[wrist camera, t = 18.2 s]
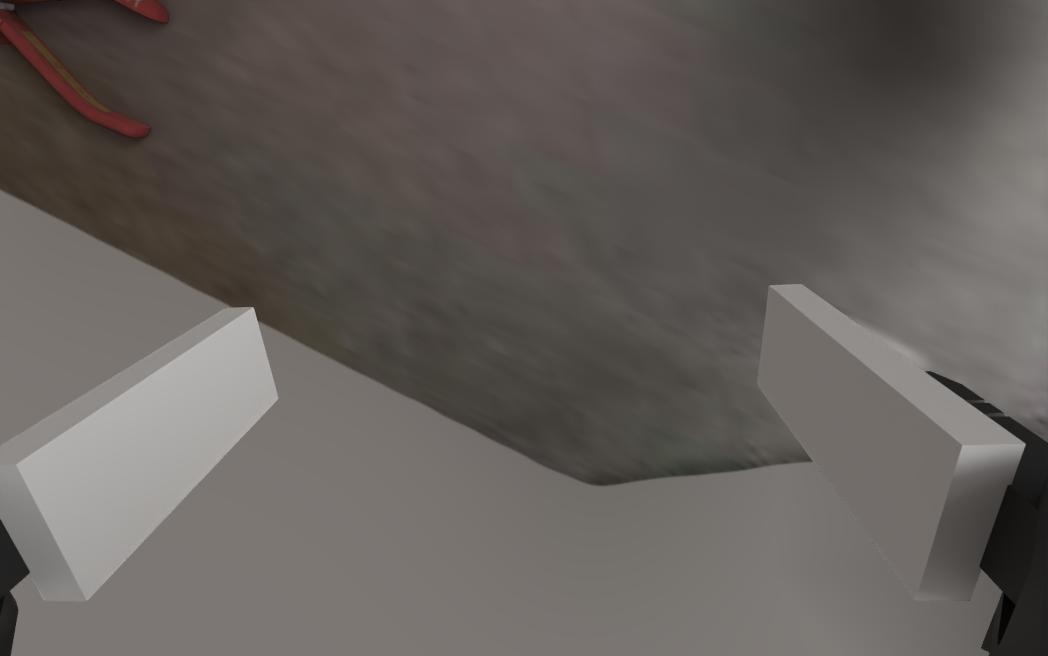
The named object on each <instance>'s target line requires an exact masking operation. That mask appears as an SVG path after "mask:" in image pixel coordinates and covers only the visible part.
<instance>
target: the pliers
mask: <svg viewBox="0 0 1048 656" xmlns="http://www.w3.org/2000/svg"><path fill="white" fill-rule="evenodd" d="M49 1H59V0H0V43H5V44H11V43H12V44H13V45H14V46H15V47H16V48H17V49H18V50H19V51H20V52H21V53H22V54H23V56H24V57H25V58H26V59H27V60H28V61H29V62H30V63H31V64H32V65H33V66H34V67H35V68H36V69H37V70H38V72H39V73H40V74H41V75H42V76H43V77H44V78H45V79H46V80H47V81H48V82H49V83H50V84H51V85H52V87H53V88H54V89H55V90H56V91H57V92H58V93H59V94H60V95H61V96H62V97H63V98H64V99H65V100H66V101H67V102H68V103H69V104H70V105H71V106H72V107H74V108H75V109H76V110H77V111H78V112H80V113H81V114H82V115H83V116H85V117H86V118H88V119H89V120H91V121H93V122H95V123H97V124H100V125H102V126H105V127H107V128H109V129H112V130H114V131H117V132H119V133H122V134H124V135H126V136H129V137H133V138H141V137H144V136H146V135H147V134H149V132H150V128H151V127H149V126H147V125H145V124H142V123H140V122H138V121H136V120H133V119H131V118H129V117H126V116H124V115H122V114H119V113H117V112H115V111H113V110H111V109H109V108H108V107H106V106H105V105H103V104H102V103H100V102H99V101H98V100H97V99H96V98H94V97H93V96H92V95H91V94H90V93H89V92H88V91H87V90H86V89H85V88H84V87H83V86H82V85H81V83H80V82H79V81H78V80H77V79H76V78H75V77H74V76H73V75H72V74H71V72H70V71H69V70H68V69H67V68H66V67H65V66H64V65H63V64H62V63H61V61H60V60H59V59H58V58H57V57H56V56H55V55H54V54H53V53H52V52H51V50H50V49H49V48H48V47H47V46H46V45H45V44H44V43H43V42H42V41H41V40H40V38H39V37H38V36H37V35H36V34H35V33H34V32H33V31H32V30H31V29H30V27H29V26H28V25H27V24H26V23H25V22H24V21H23V20H22V19H21V18H20V17H19V16H18V14H17V13H16V12H15V11H14V5H17V4H28V3H38V2H49ZM115 1H117V2H119V3H121V4H123V5H125V6H126V7H128V8H130V9H132V10H134V11H136V12H138V13H140V14H142V15H144V16H146V17H149V18H151V19H154V20H156V21H160V22H164V23H168V19H169V16H168V13H167V11H166V9H165V8H164V7H163V6H162V5H161V4H160V3H159V2H158V1H156V0H115Z"/></svg>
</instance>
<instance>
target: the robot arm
mask: <svg viewBox="0 0 1048 656" xmlns="http://www.w3.org/2000/svg"><path fill="white" fill-rule="evenodd" d="M757 385H758V387H759V388H760V390H761V391H762V392H763V394H764V395H765V396H766V398H767V399H768V401H769V402H770V403H771V405H772V406H773V407H774V409H775V410H776V411H777V413H778V414H779V416H780V417H781V418H782V420H783V421H784V422H785V424H786V425H787V426H788V428H789V429H790V431H791V432H792V433H793V435H794V436H795V437H796V439H797V440H798V441H799V443H800V444H801V446H802V447H803V448H804V450H805V451H806V452H807V454H808V455H809V456H810V458H811V459H812V461H813V462H814V463H815V465H816V466H817V467H818V469H819V470H820V471H821V473H822V474H823V476H824V477H825V478H826V479H827V481H828V482H829V484H830V485H831V486H832V488H833V489H834V491H835V492H836V493H837V495H838V496H839V497H840V499H841V500H842V501H843V503H844V504H845V506H846V507H847V508H848V510H849V511H850V512H851V514H852V515H853V516H854V518H855V519H856V521H857V522H858V523H859V525H860V526H861V527H862V529H863V530H864V531H865V533H866V534H867V535H868V537H869V538H870V539H871V541H872V542H873V544H874V545H875V547H876V548H877V549H878V551H879V552H880V553H881V555H882V556H883V557H884V559H885V560H886V562H887V563H888V564H889V566H890V567H891V568H892V570H893V571H894V572H895V574H896V575H897V577H898V578H899V579H900V581H901V582H902V583H903V585H904V586H905V587H906V589H907V590H908V591H909V593H910V594H911V596H912V597H913V598H914V600H915V601H970V599H971V596H972V594H973V590H974V588H975V585H976V582H977V580H978V577H979V574H980V571H981V569H982V570H983V571H984V572H985V573H986V574H987V575H988V576H989V577H990V578H991V579H992V581H993V582H994V583H995V584H996V585H997V586H998V587H999V588H1000V589H1001V590H1002V591H1003V592H1002V595H1001V597H1000V600H999V603H998V605H997V608H996V610H995V613H994V616H993V619H992V621H991V623H990V626H989V629H988V631H987V634H986V636H985V639H984V642H983V644H982V647H981V648H982V649H984V650H986V651H988V652H989V656H1048V443H1047V442H1046V441H1044V440H1043V439H1041V438H1040V437H1039V436H1037V435H1036V434H1034V433H1033V432H1031V431H1030V430H1028V429H1027V428H1025V427H1024V426H1022V425H1021V424H1019V423H1018V422H1016V421H1015V420H1013V419H1012V418H1011V417H1005V416H1004V413H1003V412H1002V411H1000V410H999V409H997V408H996V407H994V406H993V405H991V404H990V403H985V402H984V401H985V400H984V399H982V398H981V397H980V396H978V395H977V394H975V393H974V392H972V391H971V390H969V389H968V388H966V387H965V386H963V385H962V384H960V383H957V382H955V381H952V380H950V379H948V378H945V377H943V376H940V375H938V374H936V373H933V372H931V371H928V372H924V371H923V370H921V369H920V368H919V367H917V366H916V365H914V364H913V363H912V362H910V361H909V360H907V359H906V358H905V357H903V356H902V355H900V354H899V353H898V352H896V351H895V350H893V349H892V348H891V347H889V346H888V345H886V344H885V343H883V342H882V341H881V340H879V339H878V338H876V337H875V336H874V335H872V334H871V333H869V332H868V331H867V330H865V329H864V328H862V327H861V326H860V325H858V324H857V323H855V322H854V321H853V320H851V319H850V318H848V317H847V316H846V315H844V314H843V313H841V312H840V311H839V310H837V309H836V308H834V307H833V306H832V305H830V304H829V303H827V302H826V301H825V300H823V299H822V298H820V297H819V296H818V295H816V294H815V293H813V292H812V291H810V290H809V289H808V288H806V287H805V286H803V285H802V284H790V285H769V289H768V297H767V306H766V314H765V322H764V331H763V339H762V347H761V356H760V364H759V373H758V381H757ZM277 400H278V395H277V391H276V388H275V384H274V381H273V377H272V373H271V369H270V366H269V362H268V358H267V355H266V351H265V348H264V344H263V340H262V336H261V333H260V329H259V326H258V322H257V318H256V315H255V311H254V307H242V308H225V309H223V310H222V311H220V312H218V313H217V314H215V315H214V316H212V317H210V318H209V319H207V320H206V321H204V322H202V323H200V324H199V325H197V326H195V327H194V328H192V329H191V330H189V331H188V332H186V333H184V334H183V335H181V336H179V337H178V338H176V339H174V340H173V341H171V342H169V343H168V344H166V345H164V346H163V347H161V348H159V349H158V350H156V351H155V352H153V353H151V354H150V355H148V356H146V357H145V358H143V359H142V360H140V361H138V362H136V363H135V364H133V365H132V366H130V367H128V368H127V369H125V370H124V371H122V372H120V373H119V374H117V375H115V376H114V377H112V378H110V379H109V380H107V381H105V382H104V383H102V384H100V385H99V386H97V387H95V388H94V389H92V390H91V391H89V392H87V393H86V394H84V395H83V396H81V397H79V398H78V399H76V400H74V401H73V402H71V403H69V404H68V405H66V406H64V407H63V408H61V409H59V410H58V411H56V412H55V413H53V414H51V415H50V416H48V417H46V418H45V419H43V420H41V421H40V422H38V423H36V424H35V425H33V426H32V427H30V428H28V429H27V430H25V431H23V432H22V433H20V434H19V435H17V436H15V437H14V438H12V439H10V440H9V441H7V442H6V443H4V444H2V445H1V446H0V656H11V650H12V644H13V639H14V633H15V626H16V621H17V615H18V607H17V603H16V601H15V599H14V597H13V596H12V594H11V592H10V590H11V589H12V588H13V587H14V586H15V585H17V584H18V583H19V582H20V581H21V580H22V579H23V578H25V577H26V576H27V575H28V574H29V575H30V577H31V579H32V580H33V582H34V584H35V586H36V588H37V589H38V591H39V593H40V595H41V597H42V598H43V600H44V601H87V600H88V599H89V598H90V597H91V596H92V595H93V594H94V593H95V592H96V591H97V590H98V589H99V588H100V587H101V586H102V584H103V583H104V582H105V581H106V580H107V579H108V578H109V577H110V576H111V575H112V574H113V573H114V572H115V570H117V569H118V568H119V566H121V564H122V563H123V562H124V561H125V560H126V559H127V558H128V557H129V556H130V555H131V554H132V553H133V552H134V551H135V550H136V549H137V547H138V546H139V545H140V544H141V543H142V542H143V541H144V540H145V539H146V538H147V537H148V536H149V535H150V534H151V533H152V532H153V531H154V529H155V528H157V526H158V525H159V524H160V523H161V522H162V521H163V520H164V519H165V518H166V517H167V516H168V515H169V514H170V513H171V512H172V511H173V510H174V508H175V507H176V506H177V505H178V504H179V503H180V502H181V501H182V500H183V499H184V498H185V497H186V496H187V495H188V493H190V491H192V490H193V488H194V487H195V486H196V485H197V484H198V483H199V482H200V481H201V480H202V479H203V478H204V477H205V476H206V475H207V474H208V473H209V472H210V471H211V469H212V468H213V467H214V466H215V465H216V464H217V463H218V462H219V461H220V460H221V459H222V458H223V457H224V456H225V454H227V453H228V452H229V450H230V449H231V448H232V447H233V446H234V445H235V444H236V443H237V442H238V441H239V440H240V439H241V438H242V437H243V436H244V434H245V433H246V432H247V431H248V430H249V429H250V428H251V427H252V426H253V425H254V424H255V423H256V422H257V421H258V420H259V419H260V418H261V417H262V416H263V415H264V413H265V412H266V411H267V410H268V409H269V408H270V407H271V406H272V405H273V404H274V403H275V402H276V401H277Z"/></svg>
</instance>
